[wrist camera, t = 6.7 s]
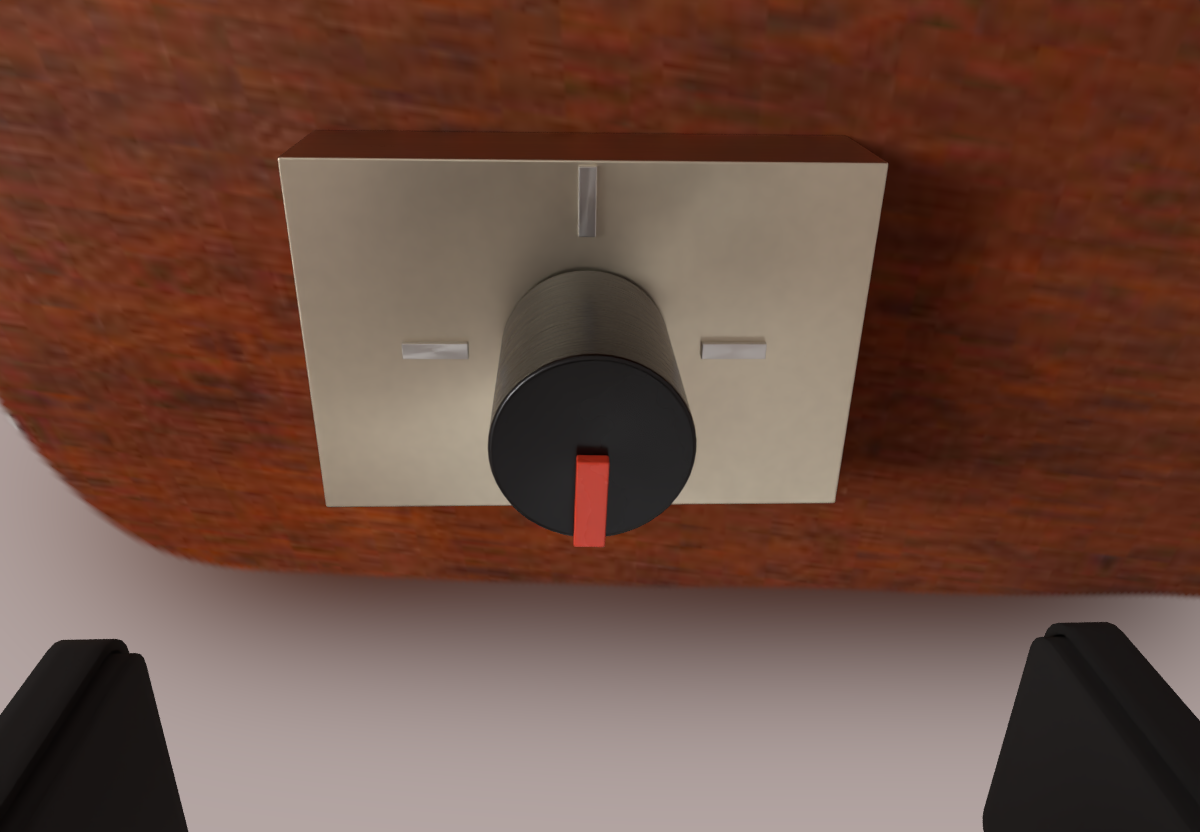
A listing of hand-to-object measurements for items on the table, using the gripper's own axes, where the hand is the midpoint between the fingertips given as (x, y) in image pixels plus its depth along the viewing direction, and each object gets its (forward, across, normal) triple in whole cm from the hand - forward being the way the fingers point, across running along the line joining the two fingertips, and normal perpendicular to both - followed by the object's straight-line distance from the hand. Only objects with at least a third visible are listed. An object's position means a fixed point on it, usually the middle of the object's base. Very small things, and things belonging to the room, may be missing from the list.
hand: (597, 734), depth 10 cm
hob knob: (+11, 0, 0) cm, 11 cm away
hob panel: (+14, 0, 0) cm, 14 cm away
